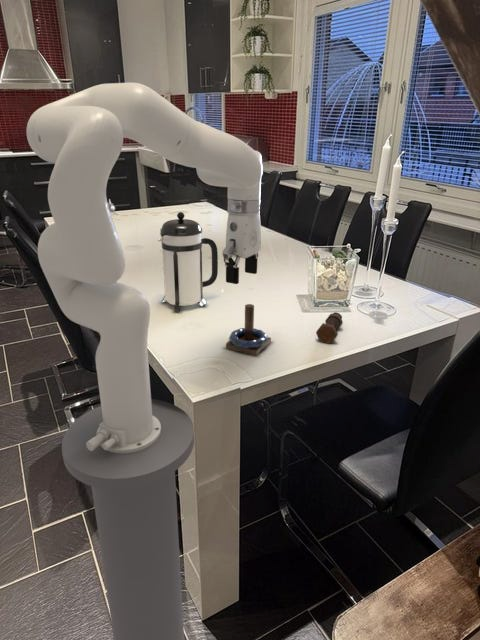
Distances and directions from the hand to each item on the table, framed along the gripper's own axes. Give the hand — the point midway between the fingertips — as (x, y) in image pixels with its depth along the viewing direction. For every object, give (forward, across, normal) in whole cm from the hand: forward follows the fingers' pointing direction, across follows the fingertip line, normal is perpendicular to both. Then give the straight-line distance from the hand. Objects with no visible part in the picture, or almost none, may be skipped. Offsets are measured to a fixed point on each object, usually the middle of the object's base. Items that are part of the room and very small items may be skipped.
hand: (241, 277), depth 114 cm
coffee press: (+20, +23, +32) cm, 44 cm away
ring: (+18, +4, 0) cm, 18 cm away
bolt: (+20, +24, -17) cm, 36 cm away
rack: (+20, +5, 0) cm, 21 cm away
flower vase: (+19, +52, +94) cm, 109 cm away
